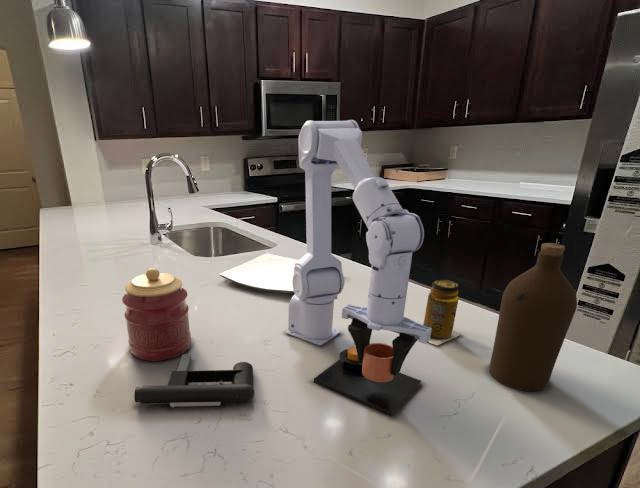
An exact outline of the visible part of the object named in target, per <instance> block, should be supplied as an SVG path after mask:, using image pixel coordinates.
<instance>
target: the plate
mask: <svg viewBox="0 0 640 488" xmlns="http://www.w3.org/2000/svg"><path fill="white" fill-rule="evenodd" d="M298 260H299V259H296V258H290V257H285V256H281V255H276V254H272V253H264V254H262V255H259V256H258V257H255V258H253V259H251V260H249V261H246V262H244V263H242V264H240V265H239V264H238V265H237V266H235V267H233V268H230V269H228V270H225V271H222V272H220V273H219V276H220V277H221V278H223V279H225V280H228V281H230V282H232V283H235V284H237V285H240V286H243V287H247V288H251V289H256V290H259V291H265V292H272V293H281V294H282V293H283V294H295V293H294V290H293V285H292V279H293V275H294V266H295V263H296V262H297V261H298Z"/></svg>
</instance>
